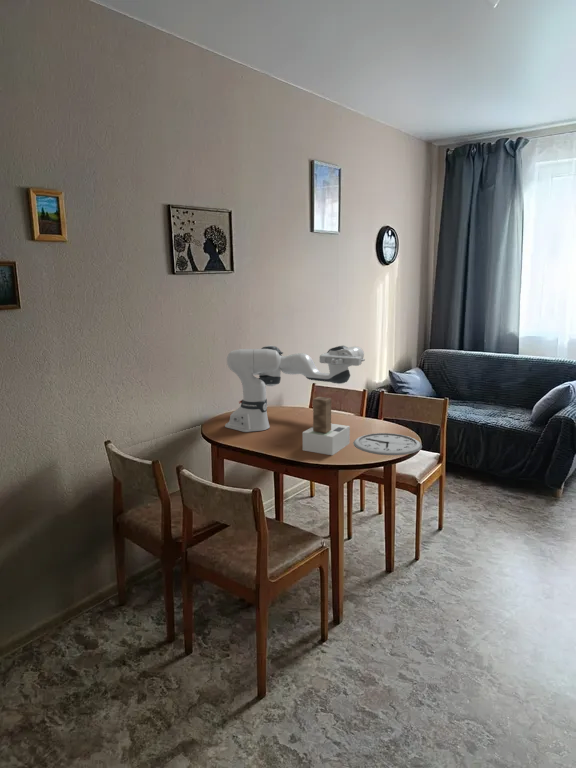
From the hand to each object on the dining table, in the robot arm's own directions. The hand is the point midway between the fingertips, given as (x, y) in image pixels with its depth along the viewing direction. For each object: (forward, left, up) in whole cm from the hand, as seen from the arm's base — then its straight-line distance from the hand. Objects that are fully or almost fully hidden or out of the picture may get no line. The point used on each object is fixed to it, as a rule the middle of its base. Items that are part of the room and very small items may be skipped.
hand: (333, 362), depth 246 cm
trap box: (+6, -20, -34) cm, 40 cm away
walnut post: (+6, -24, -25) cm, 36 cm away
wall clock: (+28, -4, -35) cm, 45 cm away
